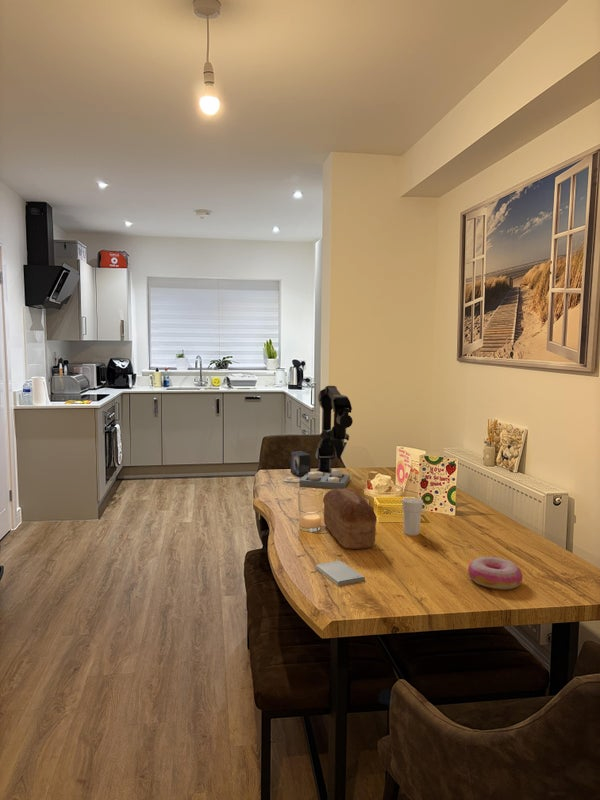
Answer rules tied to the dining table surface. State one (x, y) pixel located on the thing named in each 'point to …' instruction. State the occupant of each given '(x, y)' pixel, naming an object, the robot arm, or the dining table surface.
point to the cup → (412, 515)
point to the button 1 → (313, 476)
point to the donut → (495, 573)
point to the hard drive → (339, 573)
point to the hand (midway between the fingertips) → (338, 458)
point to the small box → (300, 463)
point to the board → (320, 481)
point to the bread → (349, 518)
